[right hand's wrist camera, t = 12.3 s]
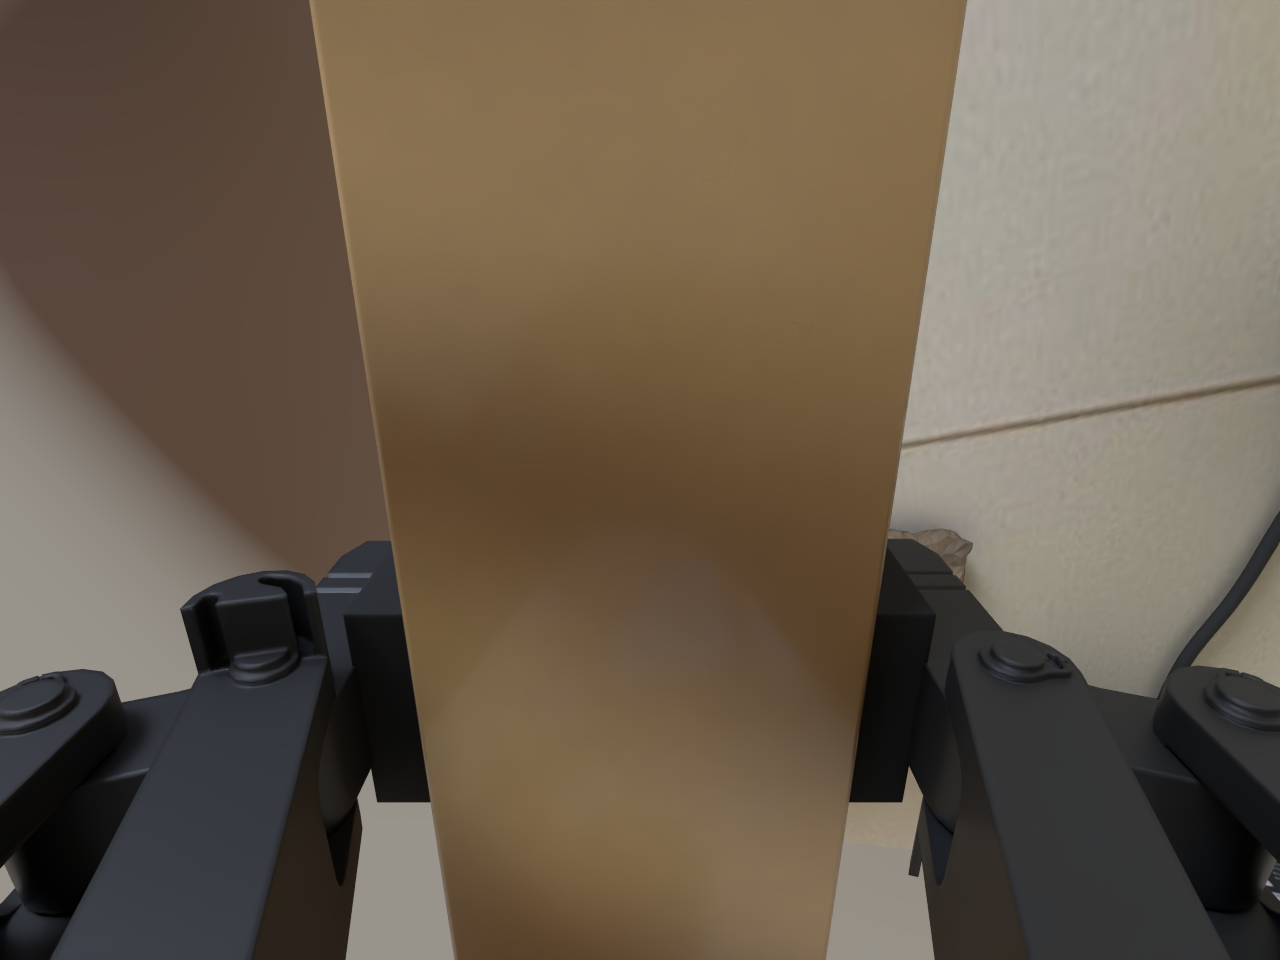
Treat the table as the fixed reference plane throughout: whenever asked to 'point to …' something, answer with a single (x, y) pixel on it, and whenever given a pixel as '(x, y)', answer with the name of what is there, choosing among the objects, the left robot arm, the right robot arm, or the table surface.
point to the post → (639, 435)
